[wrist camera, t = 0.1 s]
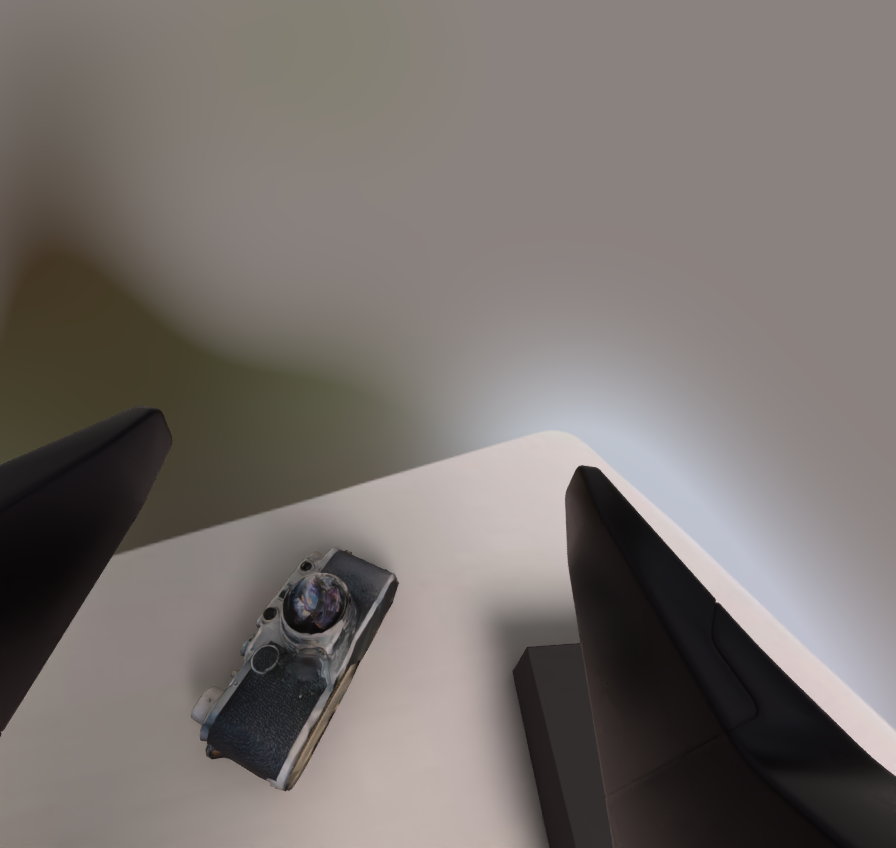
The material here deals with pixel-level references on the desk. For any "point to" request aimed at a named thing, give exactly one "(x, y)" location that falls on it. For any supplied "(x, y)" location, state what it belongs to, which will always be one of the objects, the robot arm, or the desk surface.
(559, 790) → the large pad
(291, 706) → the camera
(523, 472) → the desk surface
